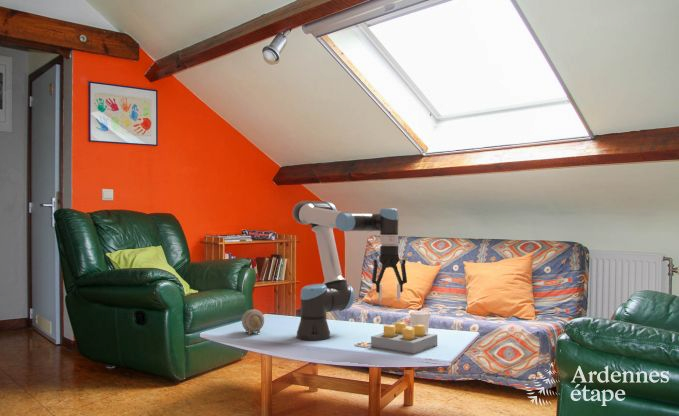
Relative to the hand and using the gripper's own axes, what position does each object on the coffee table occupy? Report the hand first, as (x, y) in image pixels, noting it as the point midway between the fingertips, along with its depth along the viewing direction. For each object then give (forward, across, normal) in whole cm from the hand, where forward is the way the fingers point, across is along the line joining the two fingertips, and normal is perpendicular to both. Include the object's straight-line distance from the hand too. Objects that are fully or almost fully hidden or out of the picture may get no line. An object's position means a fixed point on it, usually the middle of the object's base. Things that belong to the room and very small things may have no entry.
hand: (389, 300), depth 217 cm
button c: (+16, +6, +6) cm, 18 cm away
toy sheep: (+19, -57, +37) cm, 70 cm away
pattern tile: (+19, -10, +4) cm, 22 cm away
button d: (+16, +13, 0) cm, 20 cm away
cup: (+19, +18, +18) cm, 32 cm away
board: (+19, +6, 0) cm, 20 cm away
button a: (+16, 0, 0) cm, 16 cm away
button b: (+16, +6, -6) cm, 18 cm away
